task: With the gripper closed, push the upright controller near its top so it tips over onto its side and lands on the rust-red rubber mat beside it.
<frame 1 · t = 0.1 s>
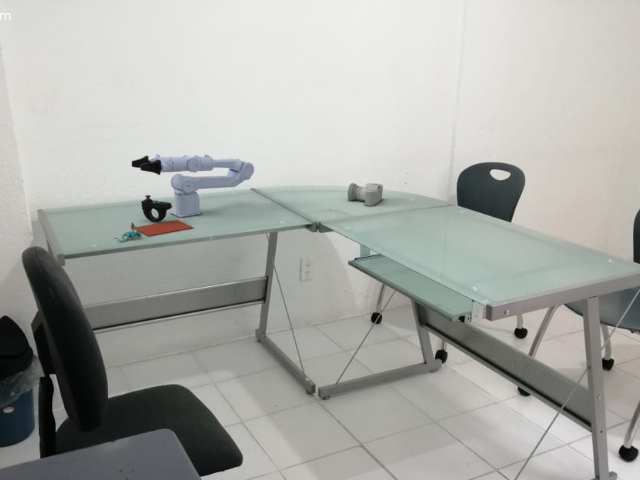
hand: (136, 165, 225), 22 cm above the table, tool horizontal, fingers open, 7 cm apart
mat: (163, 228, 226), on the table
dragon figurine: (129, 239, 213), on the table
controller: (157, 222, 234), on the table
digital camera: (365, 201, 271), on the table
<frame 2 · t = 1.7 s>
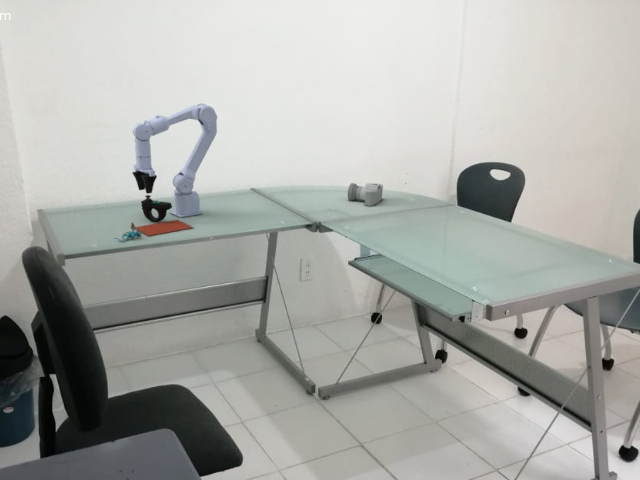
hand: (145, 191, 235), 10 cm above the table, tool pointing down, fingers open, 6 cm apart
nothing on the table moved.
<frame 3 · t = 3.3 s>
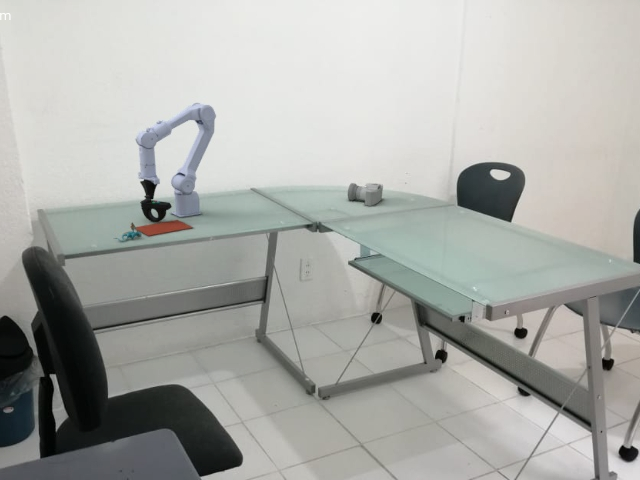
hand: (150, 199, 234), 8 cm above the table, tool pointing down, fingers closed
nothing on the table moved.
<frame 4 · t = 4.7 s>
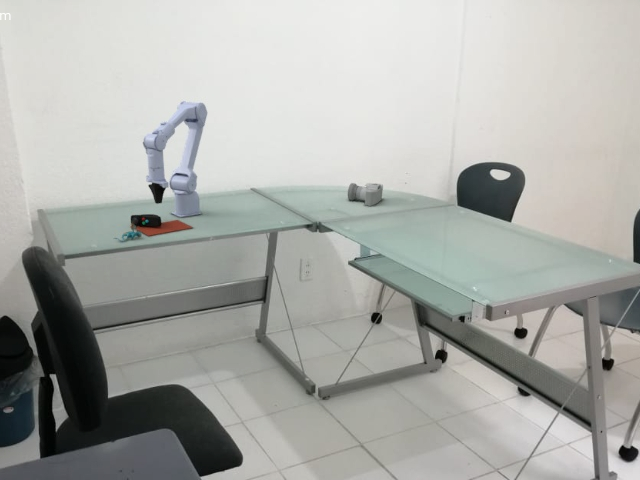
hand: (158, 203, 229), 8 cm above the table, tool pointing down, fingers closed
controller: (155, 218, 232), point 2 cm above the table, touching mat
everything else where it was.
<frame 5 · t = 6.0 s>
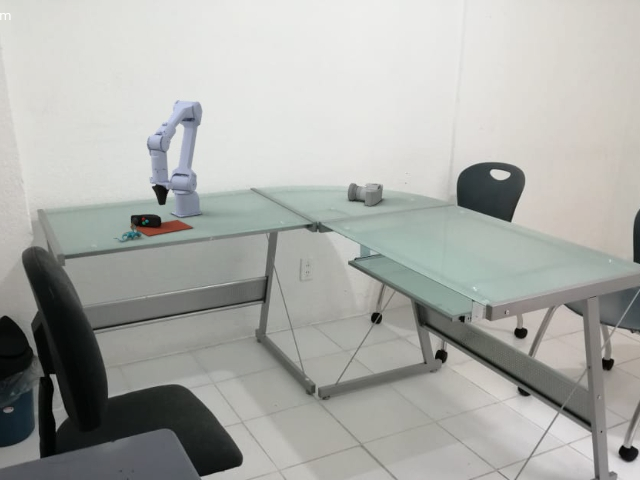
hand: (162, 204, 227), 8 cm above the table, tool pointing down, fingers closed
nothing on the table moved.
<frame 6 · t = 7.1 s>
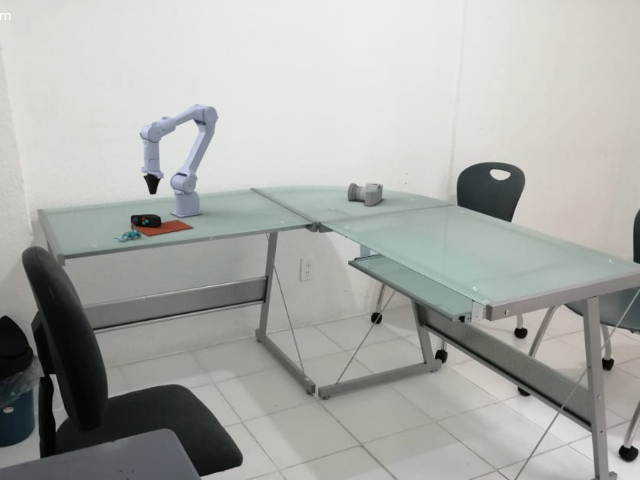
hand: (152, 194, 231), 10 cm above the table, tool pointing down, fingers closed
nothing on the table moved.
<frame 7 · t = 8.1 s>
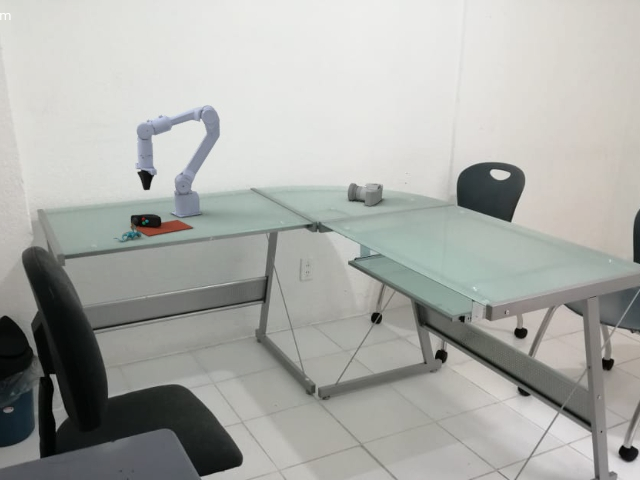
hand: (146, 189, 238), 10 cm above the table, tool pointing down, fingers closed
nothing on the table moved.
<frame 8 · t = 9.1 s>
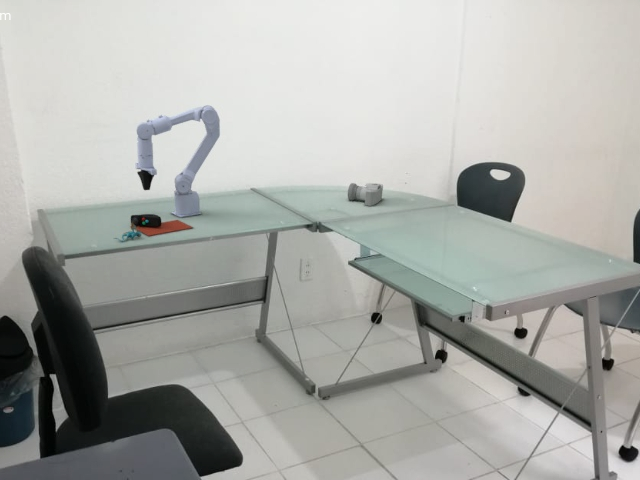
hand: (146, 189, 238), 10 cm above the table, tool pointing down, fingers closed
nothing on the table moved.
at the end: controller tilted 83°; controller touching mat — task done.
